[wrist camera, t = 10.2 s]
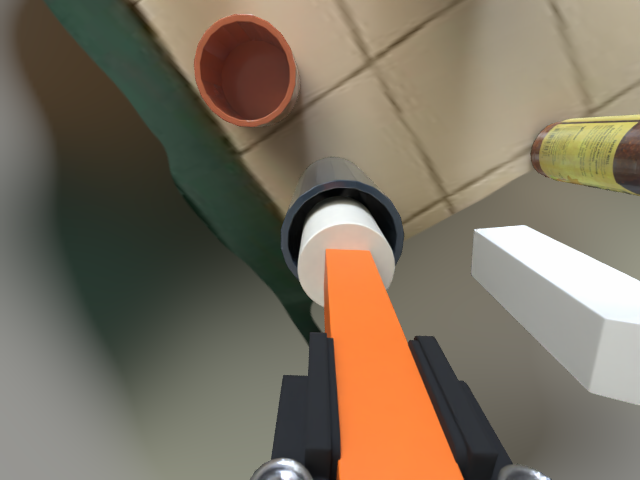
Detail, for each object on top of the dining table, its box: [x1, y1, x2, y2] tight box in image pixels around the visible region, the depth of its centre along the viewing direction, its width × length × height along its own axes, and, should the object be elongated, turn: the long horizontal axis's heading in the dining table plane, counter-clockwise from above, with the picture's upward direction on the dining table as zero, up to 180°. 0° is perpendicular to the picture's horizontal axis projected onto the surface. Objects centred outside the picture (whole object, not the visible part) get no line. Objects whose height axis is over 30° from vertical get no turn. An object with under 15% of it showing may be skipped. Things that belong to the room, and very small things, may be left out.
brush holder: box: [194, 14, 300, 127], centre depth 30 cm, size 8×8×7 cm
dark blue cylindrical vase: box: [281, 157, 404, 280], centre depth 30 cm, size 8×8×16 cm
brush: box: [297, 196, 464, 480], centre depth 15 cm, size 5×5×20 cm
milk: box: [471, 225, 640, 405], centre depth 29 cm, size 6×6×22 cm
